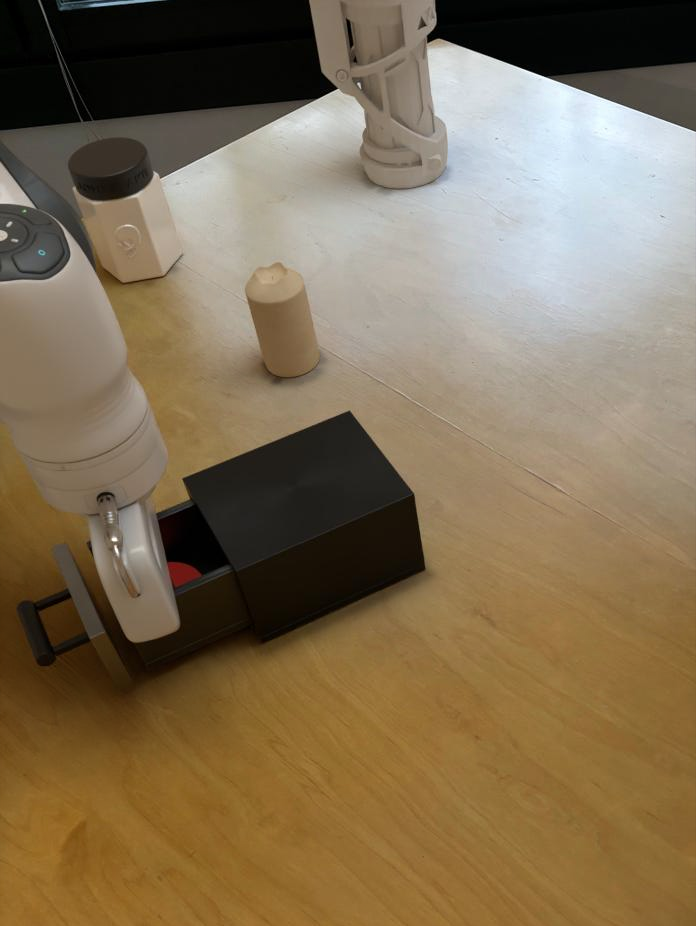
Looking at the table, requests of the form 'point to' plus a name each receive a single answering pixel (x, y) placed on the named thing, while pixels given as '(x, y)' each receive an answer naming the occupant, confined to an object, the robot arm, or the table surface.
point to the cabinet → (310, 523)
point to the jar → (124, 209)
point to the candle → (282, 320)
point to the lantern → (386, 83)
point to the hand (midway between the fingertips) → (157, 586)
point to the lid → (181, 573)
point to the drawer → (198, 601)
